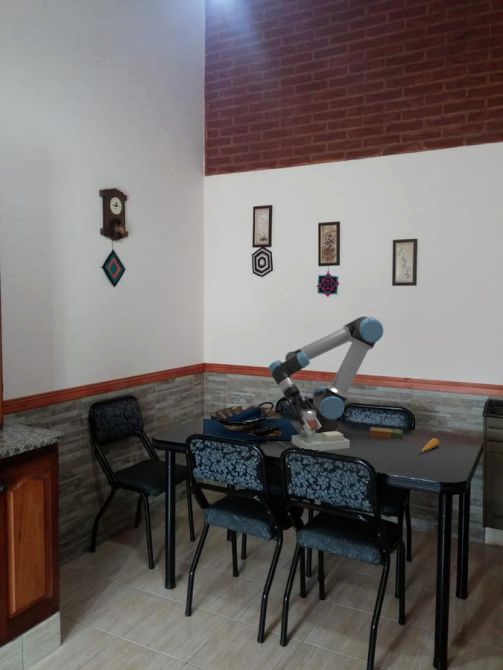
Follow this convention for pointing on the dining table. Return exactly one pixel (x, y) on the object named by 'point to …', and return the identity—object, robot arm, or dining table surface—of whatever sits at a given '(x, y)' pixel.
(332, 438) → the beige rectangular block
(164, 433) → the dining table surface
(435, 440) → the carrot
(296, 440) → the tote
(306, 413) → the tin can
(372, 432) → the carton
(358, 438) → the dining table surface
